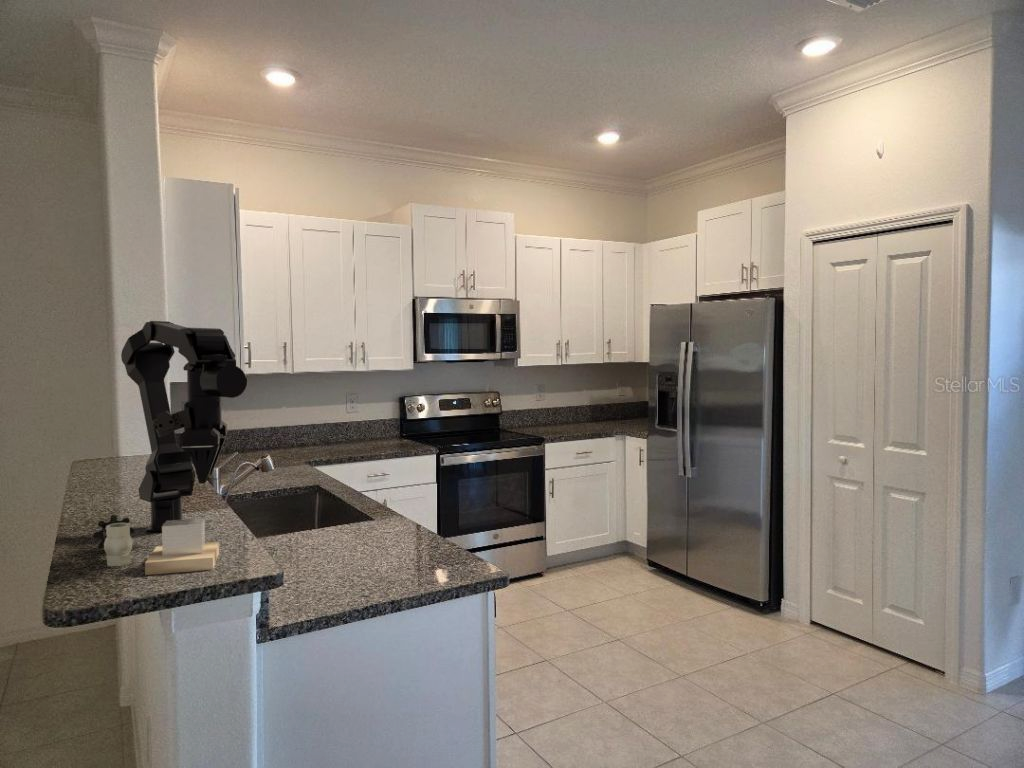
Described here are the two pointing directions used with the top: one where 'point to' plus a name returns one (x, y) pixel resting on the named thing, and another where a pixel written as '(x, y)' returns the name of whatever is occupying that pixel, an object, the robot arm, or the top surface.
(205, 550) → the oak plate
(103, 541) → the valve
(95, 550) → the top surface
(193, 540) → the aluminium block
